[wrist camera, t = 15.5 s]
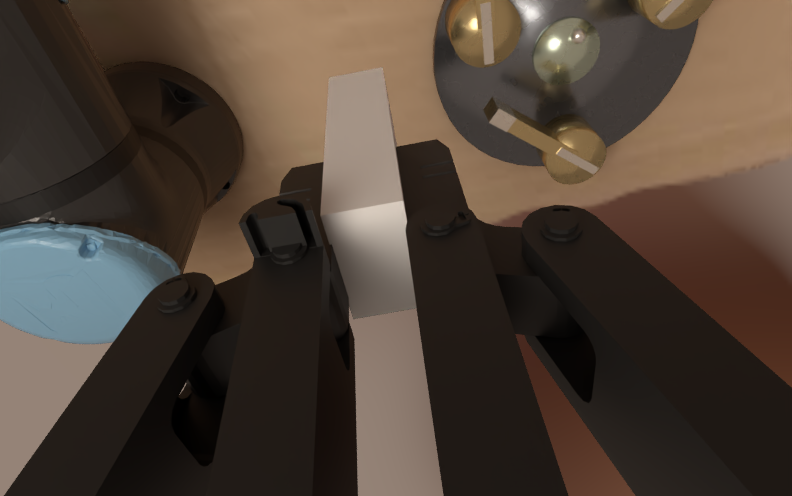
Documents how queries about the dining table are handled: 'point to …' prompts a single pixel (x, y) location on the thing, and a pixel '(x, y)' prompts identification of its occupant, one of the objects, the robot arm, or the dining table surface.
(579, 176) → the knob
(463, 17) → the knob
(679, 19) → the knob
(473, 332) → the robot arm
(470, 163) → the dining table surface
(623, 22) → the plate
